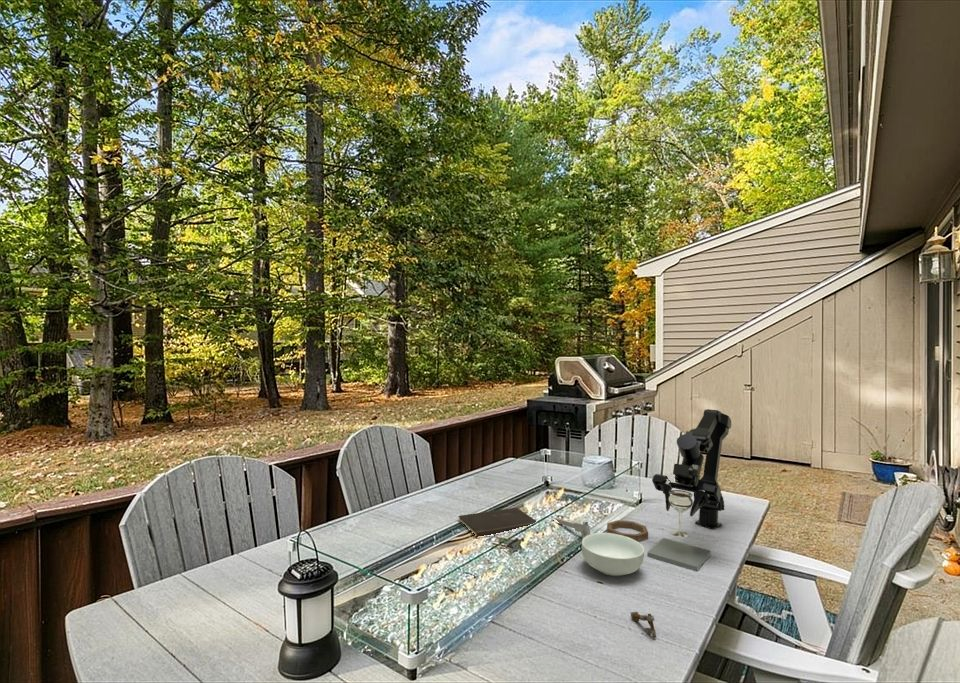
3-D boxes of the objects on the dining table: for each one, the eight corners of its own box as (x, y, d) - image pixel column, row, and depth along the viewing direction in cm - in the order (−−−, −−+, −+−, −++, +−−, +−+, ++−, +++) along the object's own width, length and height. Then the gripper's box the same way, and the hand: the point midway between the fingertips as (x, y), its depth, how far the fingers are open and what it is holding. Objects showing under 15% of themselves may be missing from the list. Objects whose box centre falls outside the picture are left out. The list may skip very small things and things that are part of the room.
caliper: (590, 543, 156) (590, 523, 156) (587, 543, 155) (587, 523, 155) (554, 520, 175) (554, 502, 174) (551, 520, 174) (552, 503, 174)
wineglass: (682, 528, 152) (682, 489, 151) (697, 537, 145) (698, 496, 145) (662, 530, 150) (663, 490, 150) (677, 539, 143) (678, 498, 143)
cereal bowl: (609, 590, 127) (609, 562, 126) (568, 563, 141) (569, 538, 141) (657, 576, 134) (658, 550, 134) (614, 552, 149) (614, 528, 149)
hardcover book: (458, 522, 172) (458, 515, 172) (516, 513, 181) (517, 507, 181) (476, 540, 157) (476, 532, 157) (539, 529, 167) (539, 522, 167)
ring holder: (624, 523, 172) (624, 518, 172) (655, 536, 162) (655, 530, 161) (599, 531, 165) (599, 525, 165) (630, 544, 154) (630, 538, 154)
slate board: (663, 541, 157) (663, 537, 157) (710, 554, 148) (710, 550, 148) (647, 556, 146) (647, 552, 146) (697, 571, 138) (697, 566, 138)
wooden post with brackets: (653, 638, 105) (649, 614, 107) (634, 633, 112) (630, 611, 114) (661, 637, 105) (656, 613, 107) (641, 632, 112) (637, 610, 114)
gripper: (654, 448, 156) (640, 491, 148) (718, 458, 144) (707, 506, 136) (663, 467, 162) (650, 510, 154) (725, 479, 151) (714, 526, 142)
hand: (678, 512), depth 146 cm, fingers closed on wineglass, 6 cm apart
